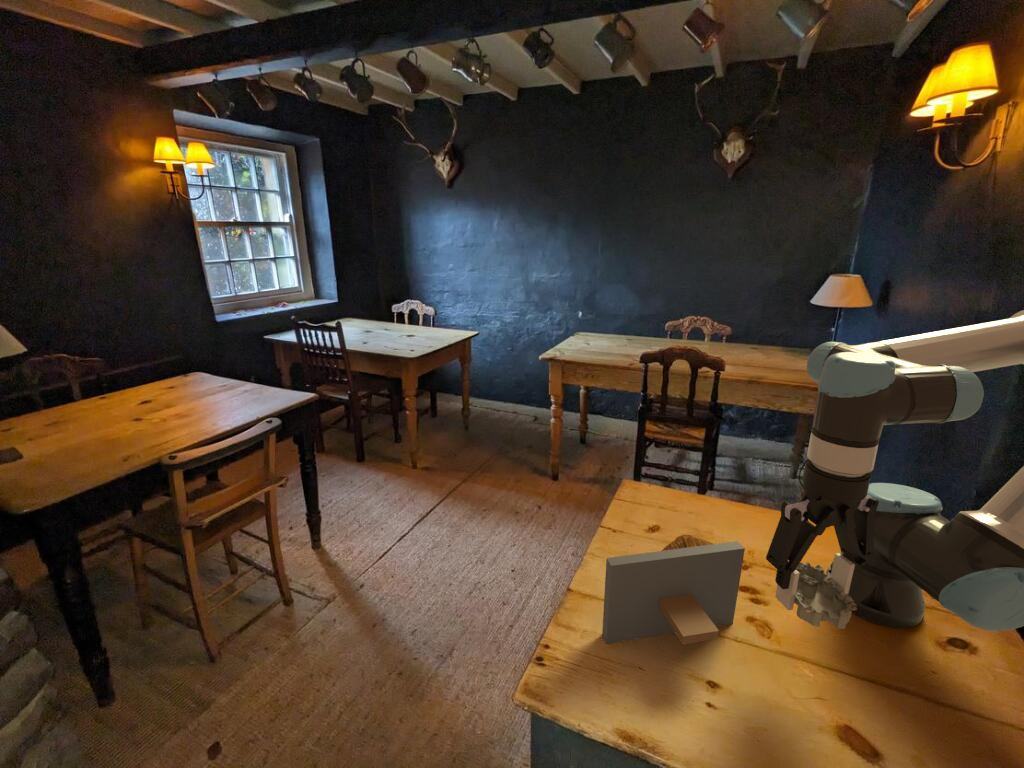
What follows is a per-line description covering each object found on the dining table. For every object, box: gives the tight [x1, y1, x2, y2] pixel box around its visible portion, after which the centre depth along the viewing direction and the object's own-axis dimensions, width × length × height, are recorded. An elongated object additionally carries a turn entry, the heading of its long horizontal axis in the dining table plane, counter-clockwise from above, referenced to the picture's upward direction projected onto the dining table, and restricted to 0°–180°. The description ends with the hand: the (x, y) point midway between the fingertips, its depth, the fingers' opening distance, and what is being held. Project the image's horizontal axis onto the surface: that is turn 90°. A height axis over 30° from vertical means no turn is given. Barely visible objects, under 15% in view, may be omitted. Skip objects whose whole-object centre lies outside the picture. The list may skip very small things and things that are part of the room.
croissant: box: [661, 534, 714, 551], centre depth 100 cm, size 14×7×5 cm, turn 101°
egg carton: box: [794, 562, 857, 630], centre depth 70 cm, size 11×8×4 cm
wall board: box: [601, 540, 746, 645], centre depth 76 cm, size 24×10×16 cm, turn 100°
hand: (810, 598), depth 70 cm, fingers closed on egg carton, 8 cm apart
